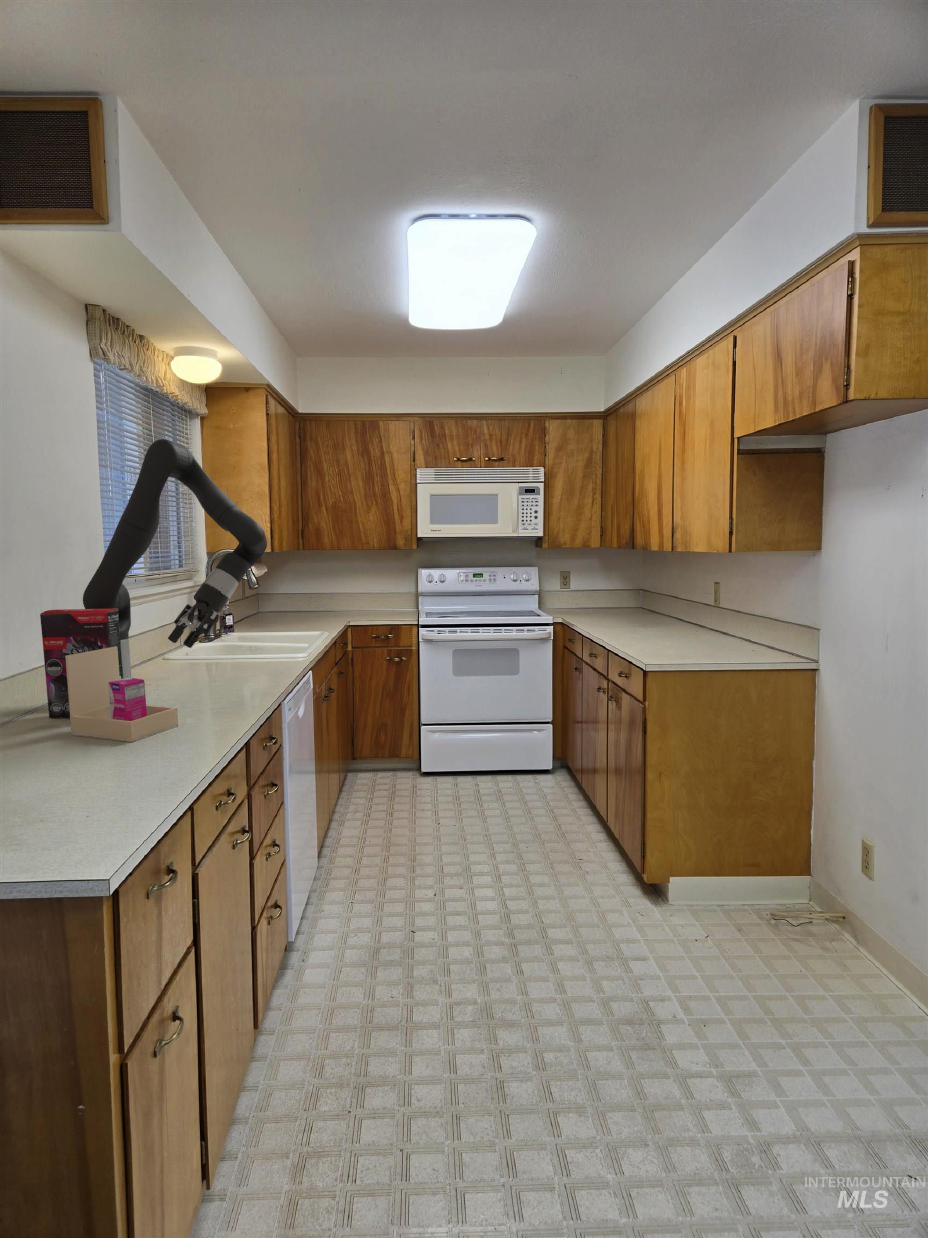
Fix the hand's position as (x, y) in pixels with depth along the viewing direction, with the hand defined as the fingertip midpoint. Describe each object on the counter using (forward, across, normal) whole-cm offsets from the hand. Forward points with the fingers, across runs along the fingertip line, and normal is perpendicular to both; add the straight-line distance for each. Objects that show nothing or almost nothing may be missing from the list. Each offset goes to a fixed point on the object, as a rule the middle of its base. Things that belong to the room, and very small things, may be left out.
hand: (178, 643), depth 174 cm
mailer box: (+24, +2, +1) cm, 24 cm away
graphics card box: (+25, -20, +1) cm, 32 cm away
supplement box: (+23, +3, +1) cm, 23 cm away
